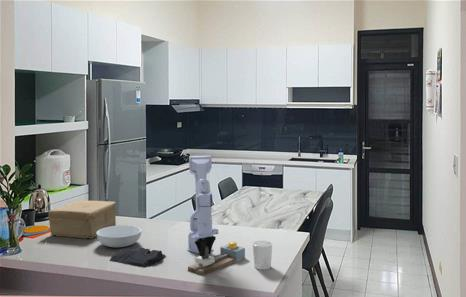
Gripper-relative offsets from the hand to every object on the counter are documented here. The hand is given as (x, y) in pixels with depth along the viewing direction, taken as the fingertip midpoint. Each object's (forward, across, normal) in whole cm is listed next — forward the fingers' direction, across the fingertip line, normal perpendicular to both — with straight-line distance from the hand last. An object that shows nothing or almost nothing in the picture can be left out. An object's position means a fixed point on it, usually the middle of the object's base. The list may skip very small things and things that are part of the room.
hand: (205, 254), depth 193 cm
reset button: (+3, +17, 0) cm, 18 cm away
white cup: (+6, +16, -17) cm, 24 cm away
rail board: (+6, +4, 0) cm, 7 cm away
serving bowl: (+6, -3, +54) cm, 54 cm away
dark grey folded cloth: (+7, -10, +31) cm, 33 cm away
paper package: (+6, 0, +88) cm, 89 cm away
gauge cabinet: (+6, +18, 0) cm, 18 cm away
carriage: (+4, 0, 0) cm, 4 cm away
